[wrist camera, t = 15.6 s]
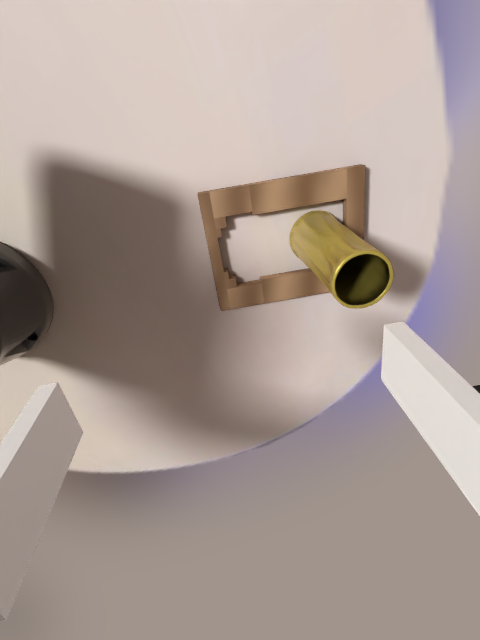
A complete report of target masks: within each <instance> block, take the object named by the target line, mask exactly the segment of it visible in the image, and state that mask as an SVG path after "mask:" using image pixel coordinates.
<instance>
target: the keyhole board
mask: <svg viewBox="0 0 480 640" xmlns="http://www.w3.org/2000/svg"><path fill="white" fill-rule="evenodd" d="M198 199H199V204H200V209H201V214H202V219H203V224H204V229H205V234H206V239H207V244H208V249H209V254H210V259H211V264H212V269H213V274H214V279H215V284H216V289H217V294H218V299H219V304H220V309H221V311H224V310H229V309H235V308H241V307H246V306H252V305H258V304H264V303H269V302H275V301H281V300H286V299H292V298H298V297H303V296H309V295H315V294H320V293H326V292H330V291H329V290H328V289H327V288H326V286H325V285H324V284H323V283H322V282H321V280H320V279H319V278H318V277H317V276H316V275H315V273H314V272H313V271H312V270H311V269H310V268H308V269H302V270H296V271H291V272H285V273H279V274H274V275H268V276H262V277H260V280H255V281H249V282H243V283H236V277H235V275H230V276H229V274H228V268H227V269H223V264H222V258H221V253H220V247H219V242H218V238H219V237H222V234H221V228H226V227H227V223H226V217H225V216H231V215H237V214H242V213H248V212H251V213H252V215H256V214H262V213H267V212H273V211H279V210H285V209H290V208H296V207H302V206H308V205H313V204H319V203H325V202H331V201H336V200H342V199H343V225H344V226H346V227H347V228H348V229H350V230H351V231H352V232H354V233H355V234H356V235H357V236H358V237H359V238H361V239H362V240H364V202H365V165H361V164H360V165H354V166H349V167H343V168H337V169H331V170H325V171H320V172H314V173H308V174H302V175H296V176H291V177H285V178H279V179H273V180H268V181H262V182H256V183H250V184H244V185H239V186H233V187H227V188H221V189H216V190H210V191H204V192H198Z"/></svg>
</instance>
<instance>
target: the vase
mask: <svg viewBox="0 0 480 640" xmlns="http://www.w3.org/2000/svg"><path fill="white" fill-rule="evenodd" d="M290 245H291V248H292V250H293V252H294V254H295V255H296V256H297V257H298V258H300V259H301V260H302V261H303V262H304V263H305V264H306V265H307V266H308V267H309V268H310V269H311V270H312V271H313V272H314V273H315V275H316V276H317V277H318V278H319V279H320V280H321V282H322V283H323V284H324V285H325V286H326V288H327V289H328V290H329V291H330V293H331V294H332V295H333V296H334V298H335V299H336V300H337V301H338V302H339V303H340V304H342V305H343V306H345V307H348V308H365V307H368V306H371V305H373V304H375V303H377V302H378V301H379V300H380V299H381V298H382V297H383V296H384V295H385V294H386V293H387V292H388V291H389V289H390V287H391V285H392V281H393V268H392V265H391V262H390V260H389V259H388V258H387V257H386V256H385V255H384V254H383V253H382V252H381V251H379V250H378V249H376V248H374V247H373V246H371V245H370V244H369V243H367V242H366V241H364V240H362V239H361V238H359V237H358V236H357V235H356V234H355V233H354V232H352V231H351V230H350V229H348V228H347V227H346V226H344V225H343V224H341V223H340V222H338V220H337V219H336V218H335V217H334V216H333V215H332V214H331V213H329V212H326V211H311V212H308V213H306V214H304V215H303V216H301V217H300V218H299V219H298V220H297V221H296V223H295V224H294V226H293V228H292V230H291V233H290Z"/></svg>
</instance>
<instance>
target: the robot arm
mask: <svg viewBox="0 0 480 640" xmlns="http://www.w3.org/2000/svg"><path fill="white" fill-rule="evenodd" d="M52 317H53V302H52V297H51V294H50V291H49V288H48V286H47V284H46V282H45V280H44V279H43V277H42V276H41V274H40V273H39V272H38V270H37V269H36V268H35V267H34V266H33V265H32V264H31V263H30V262H29V261H28V260H27V259H26V258H24V257H23V256H22V255H21V254H19V253H18V252H16V251H15V250H13V249H12V248H10V247H8V246H6V245H4V244H2V243H0V365H2V364H4V363H6V362H8V361H11V360H13V359H15V358H17V357H19V356H21V355H23V354H25V353H26V352H28V351H29V350H31V349H32V348H33V347H34V346H35V345H36V344H37V343H38V342H39V341H40V339H41V338H42V337H43V336H44V335H45V333H46V332H47V330H48V328H49V326H50V324H51V321H52ZM381 380H382V381H383V383H384V384H385V385H386V387H387V388H388V390H389V391H390V392H391V394H392V395H393V397H394V398H395V399H396V401H397V402H398V403H399V405H400V406H401V408H402V409H403V410H404V412H405V413H406V415H407V416H408V417H409V419H410V420H411V421H412V423H413V424H414V425H415V427H416V428H417V430H418V431H419V432H420V434H421V435H422V436H423V438H424V440H425V441H426V442H427V444H428V445H429V446H430V448H431V449H432V451H433V452H434V453H435V455H436V456H437V457H438V459H439V460H440V462H441V463H442V464H443V465H444V467H445V469H446V470H447V471H448V473H449V474H450V475H451V477H452V478H453V480H454V481H455V482H456V484H457V485H458V487H459V488H460V489H461V491H462V492H463V493H464V495H465V496H466V497H467V499H468V500H469V502H470V503H471V505H472V506H473V507H474V509H475V510H476V511H477V513H478V514H479V516H480V385H477V386H471V385H470V384H469V383H468V382H467V381H466V380H465V379H464V378H463V377H461V376H460V375H459V374H458V373H457V372H456V371H455V370H454V369H453V368H452V367H451V366H450V365H449V364H448V363H447V362H445V361H444V360H443V359H442V358H441V357H440V356H439V355H438V354H437V353H436V352H435V351H434V350H432V348H431V347H430V346H428V345H427V344H426V343H425V342H424V341H423V340H422V339H421V338H420V337H419V336H418V335H417V334H416V333H415V332H414V331H413V330H411V329H410V328H409V327H408V326H407V325H406V324H405V323H404V322H403V321H402V322H396V323H391V324H385V325H384V333H383V351H382V370H381ZM82 434H83V431H82V429H81V427H80V425H79V423H78V421H77V419H76V417H75V415H74V413H73V411H72V409H71V407H70V405H69V403H68V401H67V399H66V397H65V395H64V393H63V391H62V389H61V388H60V386H59V384H58V382H57V383H51V384H45V385H40V386H38V387H37V389H36V390H35V392H34V393H33V395H32V396H31V398H30V399H29V401H28V403H27V404H26V406H25V407H24V409H23V410H22V412H21V413H20V415H19V416H18V418H17V419H16V421H15V422H14V424H13V425H12V427H11V428H10V430H9V431H8V433H7V434H6V436H5V437H4V439H3V440H2V442H1V443H0V621H3V620H6V619H7V617H8V614H9V612H10V610H11V607H12V605H13V602H14V600H15V597H16V595H17V592H18V590H19V587H20V585H21V583H22V580H23V578H24V575H25V573H26V570H27V568H28V566H29V563H30V560H31V558H32V556H33V553H34V551H35V549H36V546H37V543H38V541H39V539H40V536H41V534H42V531H43V529H44V526H45V524H46V522H47V519H48V517H49V514H50V512H51V509H52V507H53V504H54V502H55V500H56V497H57V495H58V492H59V490H60V487H61V485H62V483H63V480H64V478H65V475H66V473H67V470H68V468H69V465H70V463H71V461H72V458H73V456H74V453H75V451H76V448H77V446H78V443H79V441H80V439H81V436H82Z"/></svg>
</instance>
